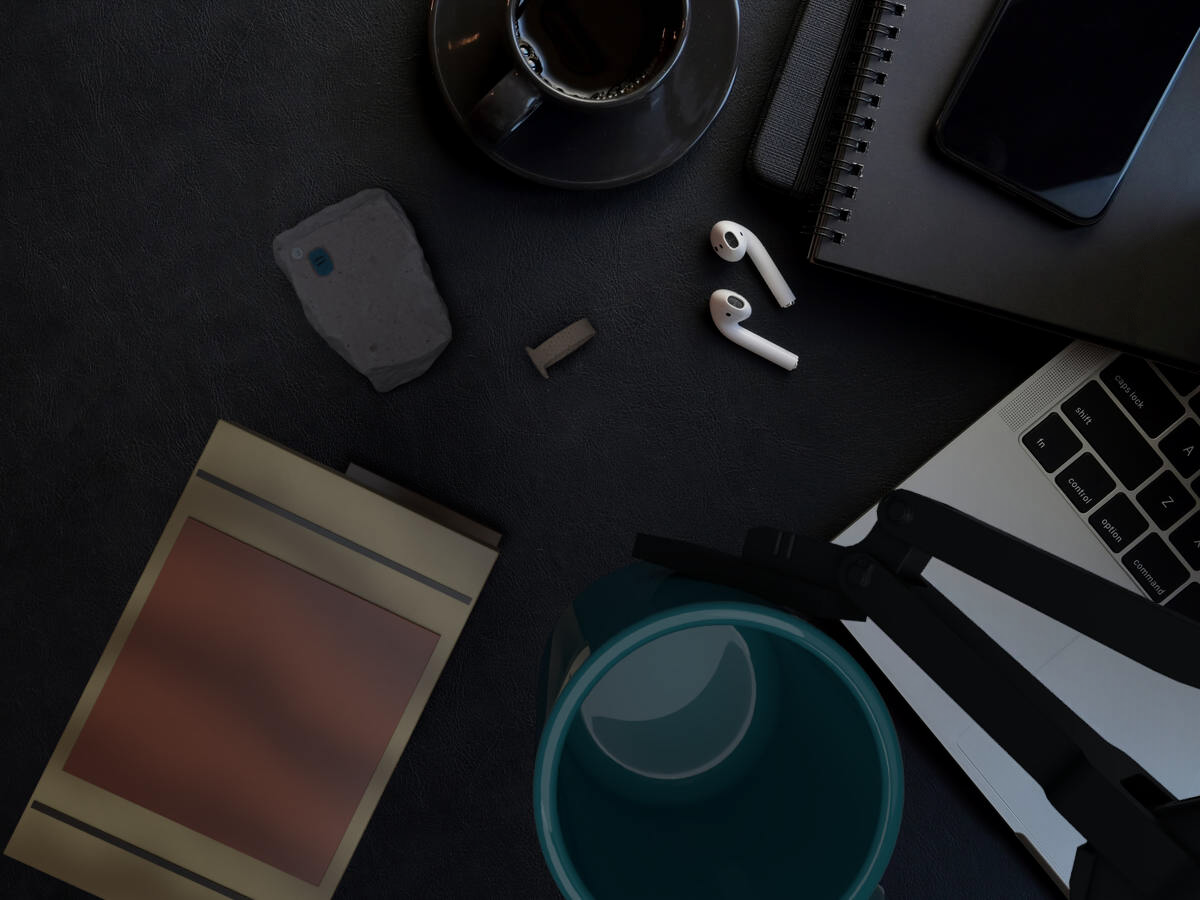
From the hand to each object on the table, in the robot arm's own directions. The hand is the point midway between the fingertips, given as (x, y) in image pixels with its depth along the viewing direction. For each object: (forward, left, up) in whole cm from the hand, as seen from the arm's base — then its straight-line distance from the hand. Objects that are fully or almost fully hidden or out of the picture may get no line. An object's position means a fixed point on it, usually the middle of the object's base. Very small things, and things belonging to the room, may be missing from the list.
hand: (623, 700), depth 29 cm
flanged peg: (+13, +8, -39) cm, 42 cm away
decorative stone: (+11, +22, -39) cm, 46 cm away
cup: (0, -3, -4) cm, 5 cm away
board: (-9, +12, -12) cm, 19 cm away
